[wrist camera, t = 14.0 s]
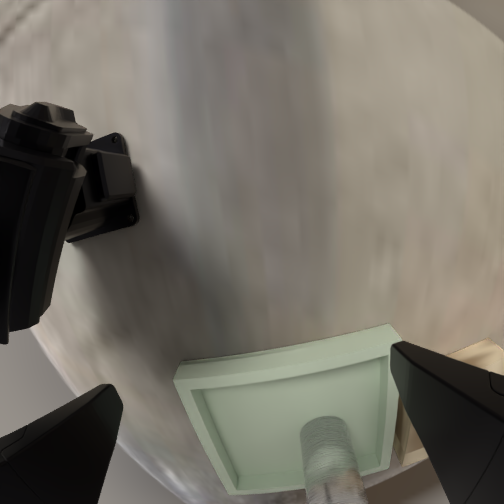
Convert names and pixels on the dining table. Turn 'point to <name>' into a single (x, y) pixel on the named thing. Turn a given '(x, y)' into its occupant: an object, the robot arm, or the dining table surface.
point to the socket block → (405, 434)
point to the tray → (291, 406)
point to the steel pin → (330, 463)
